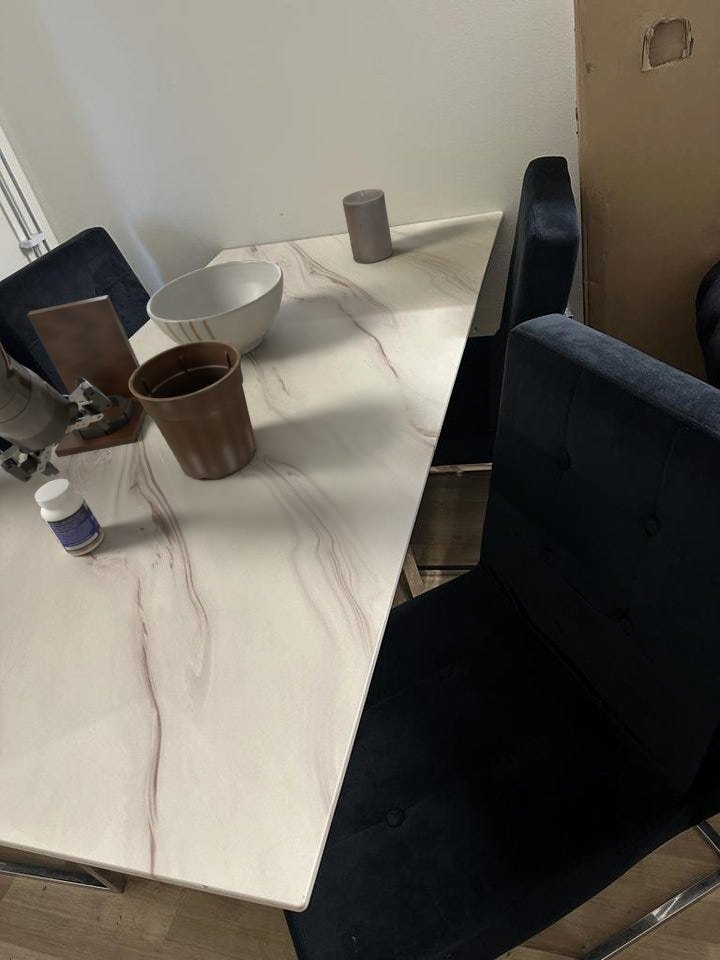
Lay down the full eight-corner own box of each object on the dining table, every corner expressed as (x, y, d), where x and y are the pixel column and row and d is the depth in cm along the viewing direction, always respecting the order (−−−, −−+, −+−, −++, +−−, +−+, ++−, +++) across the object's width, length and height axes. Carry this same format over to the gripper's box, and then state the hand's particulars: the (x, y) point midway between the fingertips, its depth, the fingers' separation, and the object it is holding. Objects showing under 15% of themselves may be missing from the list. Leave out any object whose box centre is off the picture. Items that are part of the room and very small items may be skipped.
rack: (57, 456, 113) (-5, 353, 101) (82, 408, 125) (30, 311, 113) (135, 442, 112) (83, 335, 100) (153, 394, 124) (108, 294, 112)
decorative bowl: (184, 395, 122) (159, 336, 114) (158, 343, 142) (136, 290, 134) (317, 345, 127) (301, 285, 120) (274, 301, 148) (259, 248, 140)
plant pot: (291, 445, 103) (262, 353, 93) (208, 504, 95) (167, 411, 85) (231, 416, 113) (199, 330, 103) (151, 467, 105) (108, 380, 95)
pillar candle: (345, 260, 159) (331, 195, 150) (374, 244, 163) (363, 181, 154) (372, 266, 153) (360, 199, 143) (402, 250, 157) (392, 184, 148)
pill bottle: (113, 534, 94) (81, 480, 88) (81, 562, 90) (46, 508, 84) (88, 524, 97) (56, 471, 91) (56, 550, 93) (21, 498, 87)
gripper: (47, 339, 73) (100, 390, 89) (-57, 427, 71) (17, 464, 86) (92, 384, 72) (138, 428, 88) (-12, 475, 70) (55, 504, 85)
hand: (78, 446), depth 87 cm, fingers open, 8 cm apart
